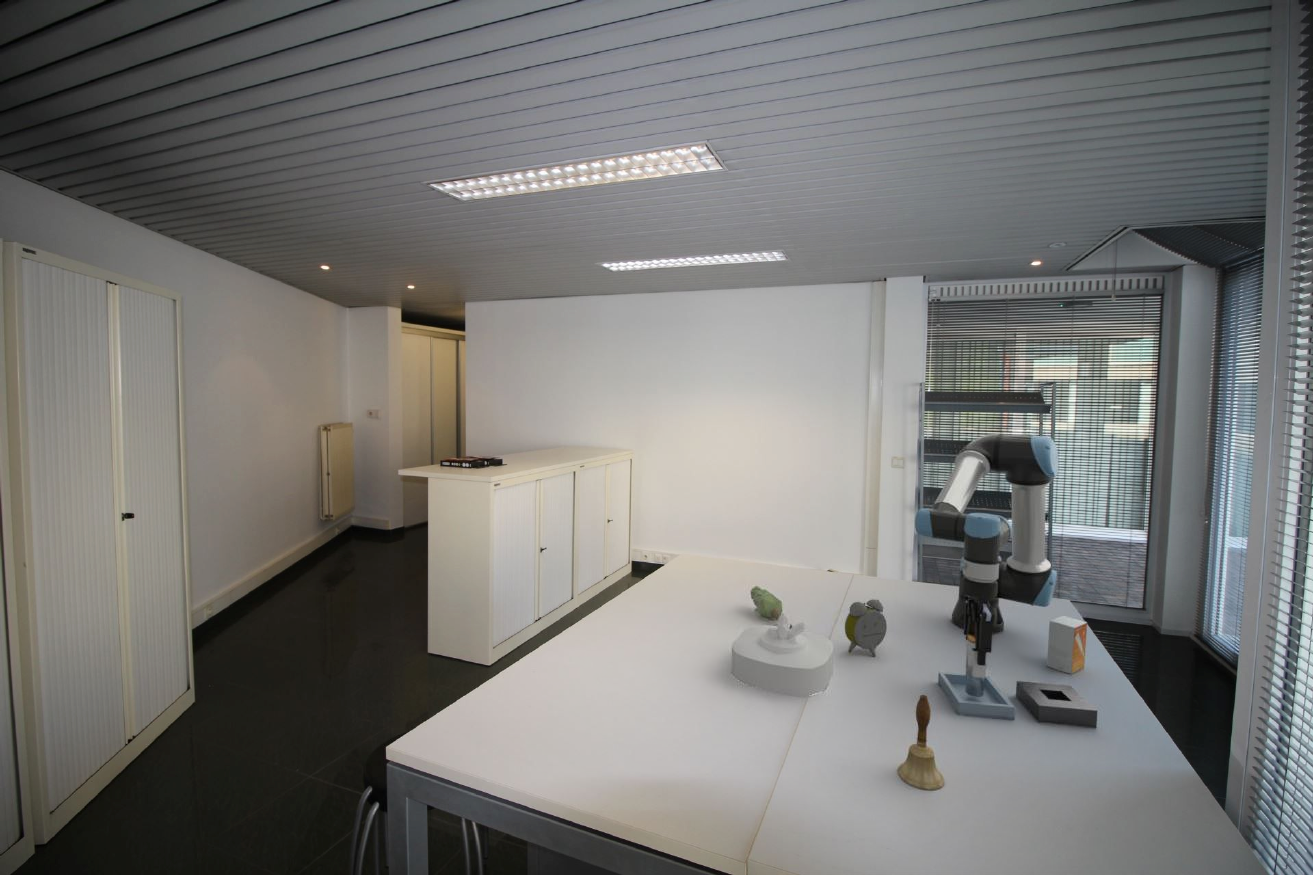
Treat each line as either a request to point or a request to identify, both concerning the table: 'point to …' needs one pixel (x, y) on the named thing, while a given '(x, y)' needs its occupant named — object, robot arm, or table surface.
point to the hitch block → (1056, 704)
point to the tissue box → (783, 659)
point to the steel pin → (972, 684)
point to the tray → (976, 698)
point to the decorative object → (766, 603)
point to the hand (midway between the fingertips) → (975, 672)
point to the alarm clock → (865, 625)
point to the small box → (1066, 644)
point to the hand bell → (921, 755)
